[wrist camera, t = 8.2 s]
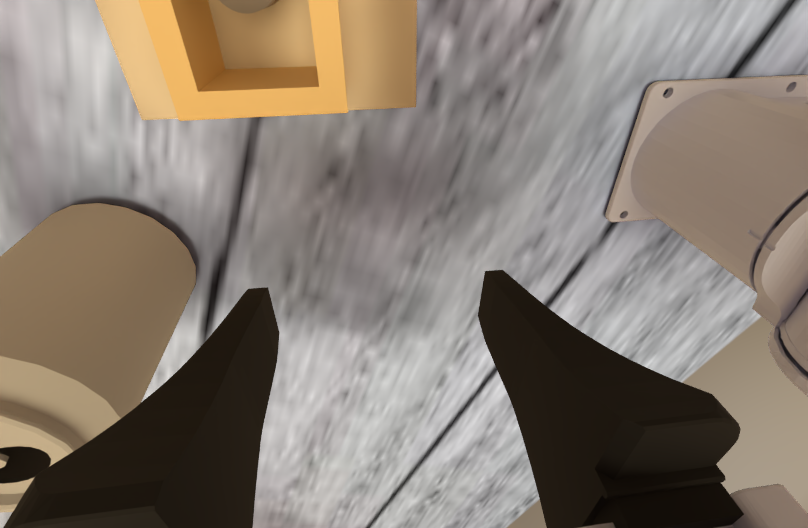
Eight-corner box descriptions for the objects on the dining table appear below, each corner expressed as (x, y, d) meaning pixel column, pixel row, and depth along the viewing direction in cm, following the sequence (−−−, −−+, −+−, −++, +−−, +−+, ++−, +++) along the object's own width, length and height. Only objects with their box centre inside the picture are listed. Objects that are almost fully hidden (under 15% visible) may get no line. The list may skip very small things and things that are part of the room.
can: (136, 324, 25) (7, 545, 15) (11, 240, 20) (-278, 473, 11) (229, 270, 23) (154, 475, 14) (117, 167, 19) (-108, 361, 9)
